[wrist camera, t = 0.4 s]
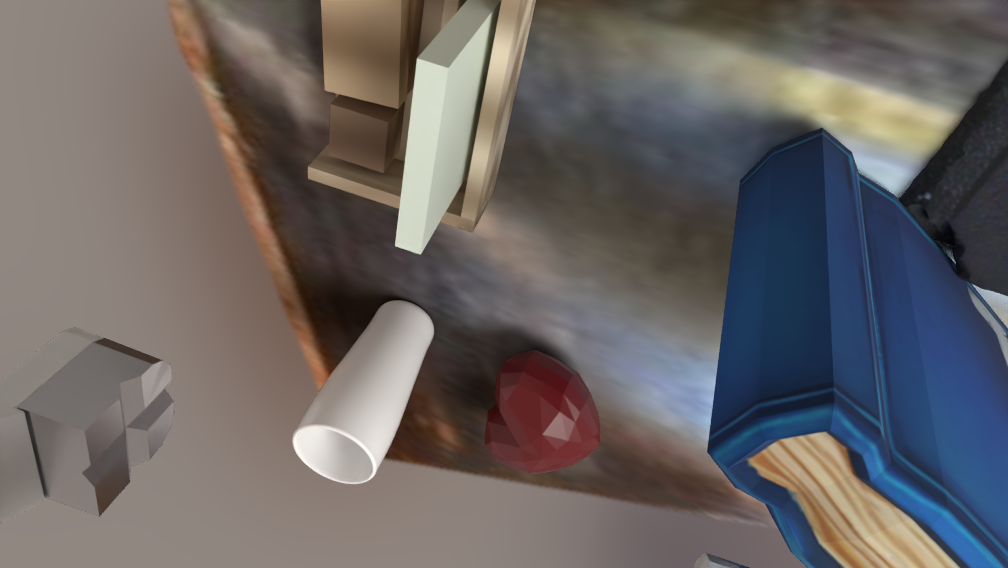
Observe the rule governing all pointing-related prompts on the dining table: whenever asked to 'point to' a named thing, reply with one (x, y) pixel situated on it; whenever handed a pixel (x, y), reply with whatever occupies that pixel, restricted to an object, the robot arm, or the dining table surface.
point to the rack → (491, 130)
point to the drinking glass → (365, 396)
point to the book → (858, 374)
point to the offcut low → (414, 39)
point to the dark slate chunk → (971, 191)
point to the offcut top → (366, 49)
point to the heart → (541, 415)
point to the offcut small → (365, 132)
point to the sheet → (444, 119)
